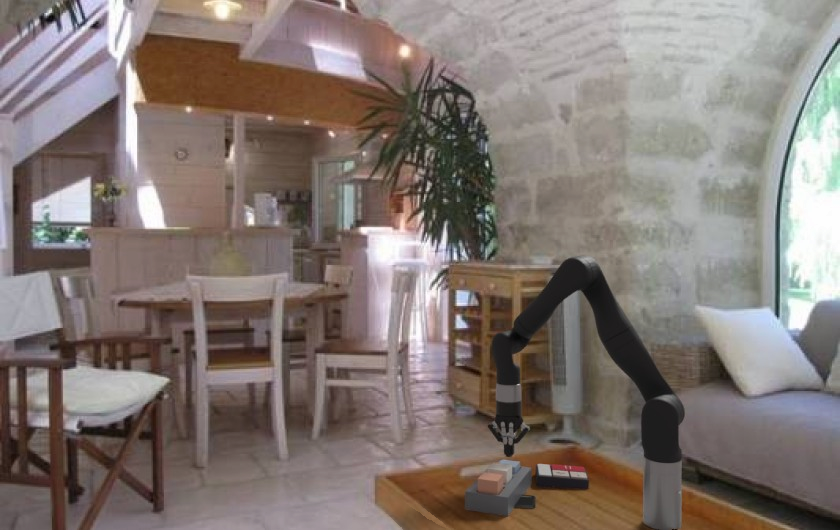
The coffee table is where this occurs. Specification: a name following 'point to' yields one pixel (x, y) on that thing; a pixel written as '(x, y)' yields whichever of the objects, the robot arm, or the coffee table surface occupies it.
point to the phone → (526, 501)
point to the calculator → (561, 476)
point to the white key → (502, 471)
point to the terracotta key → (490, 483)
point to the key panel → (505, 499)
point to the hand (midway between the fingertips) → (509, 456)
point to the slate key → (514, 465)
